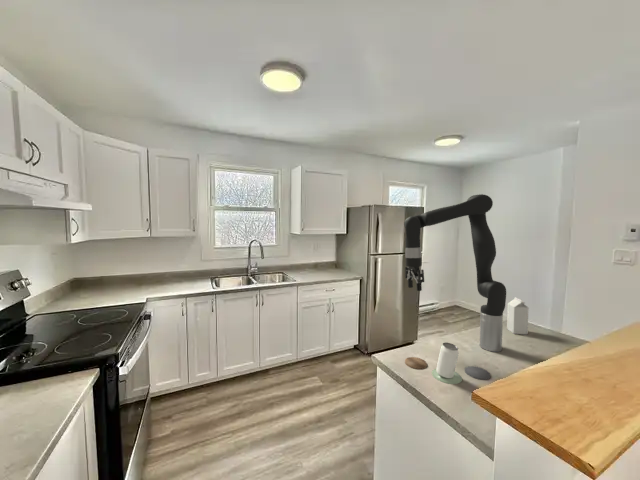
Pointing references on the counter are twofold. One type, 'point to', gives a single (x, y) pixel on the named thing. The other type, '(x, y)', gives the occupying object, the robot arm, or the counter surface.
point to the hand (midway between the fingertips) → (414, 289)
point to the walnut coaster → (415, 363)
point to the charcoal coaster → (477, 372)
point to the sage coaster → (454, 380)
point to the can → (447, 360)
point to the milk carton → (517, 317)
